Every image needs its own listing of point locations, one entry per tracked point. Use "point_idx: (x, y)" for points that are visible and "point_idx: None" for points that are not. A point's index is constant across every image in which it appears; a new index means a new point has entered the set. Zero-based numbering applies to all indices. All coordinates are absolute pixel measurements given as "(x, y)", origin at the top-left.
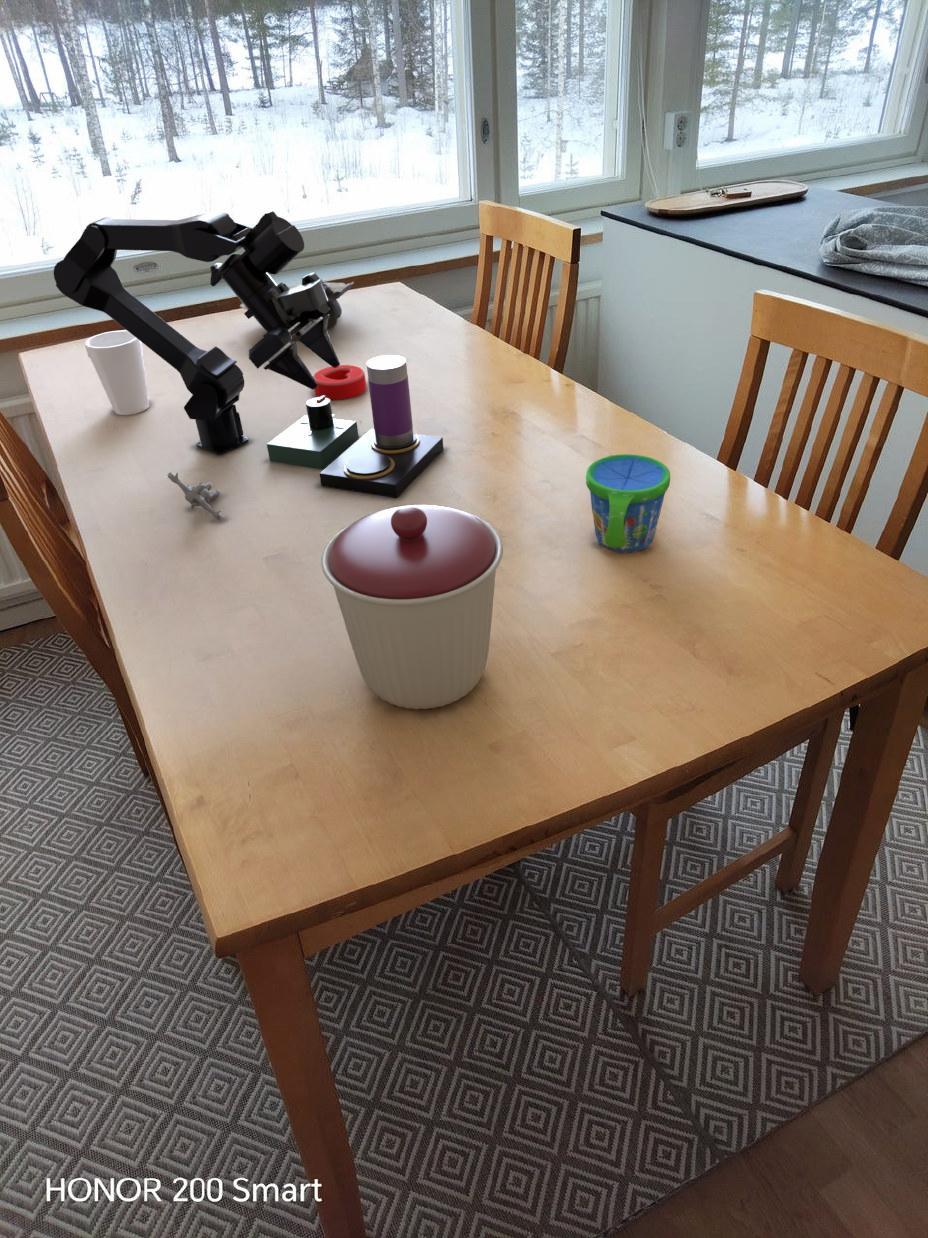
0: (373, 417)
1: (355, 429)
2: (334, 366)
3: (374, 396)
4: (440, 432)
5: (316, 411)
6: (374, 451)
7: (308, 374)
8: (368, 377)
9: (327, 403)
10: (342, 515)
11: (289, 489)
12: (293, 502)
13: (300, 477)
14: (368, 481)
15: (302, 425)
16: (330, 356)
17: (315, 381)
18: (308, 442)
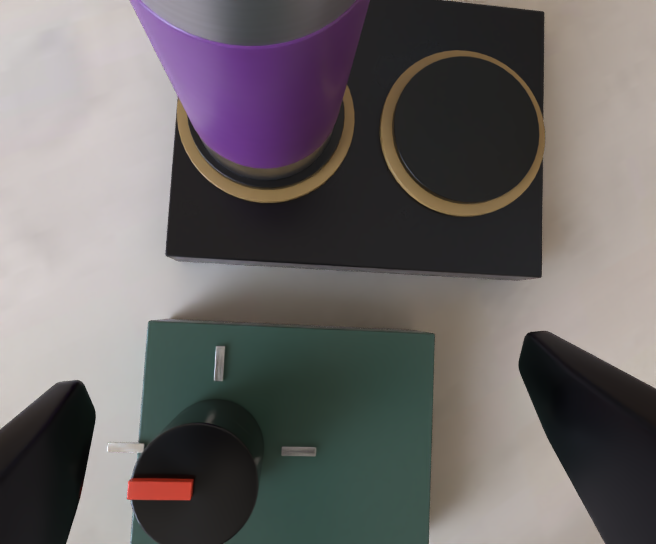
0: (321, 125)
1: (173, 320)
2: (90, 421)
3: (358, 34)
4: (63, 55)
5: (258, 457)
6: (348, 163)
7: (645, 385)
8: (335, 8)
9: (204, 426)
10: (644, 145)
11: None
12: (622, 314)
13: (483, 373)
14: (541, 102)
15: None
16: (47, 474)
17: (552, 346)
18: (376, 417)
